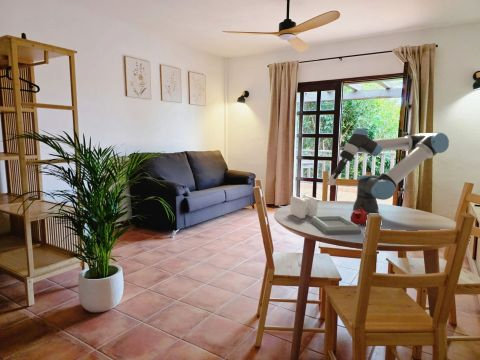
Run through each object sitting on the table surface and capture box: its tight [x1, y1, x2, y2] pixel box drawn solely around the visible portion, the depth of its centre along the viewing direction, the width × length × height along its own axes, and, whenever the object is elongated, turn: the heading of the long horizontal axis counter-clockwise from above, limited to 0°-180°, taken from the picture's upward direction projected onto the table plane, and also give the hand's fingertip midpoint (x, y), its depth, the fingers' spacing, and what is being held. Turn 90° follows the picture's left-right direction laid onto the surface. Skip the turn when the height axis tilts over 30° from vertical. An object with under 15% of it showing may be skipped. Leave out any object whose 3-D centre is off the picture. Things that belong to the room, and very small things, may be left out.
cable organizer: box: [289, 194, 318, 220], centre depth 180 cm, size 15×11×12 cm
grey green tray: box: [309, 215, 362, 235], centre depth 158 cm, size 18×22×4 cm
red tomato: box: [349, 207, 369, 226], centre depth 166 cm, size 10×10×9 cm
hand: (329, 184), depth 179 cm, fingers open, 13 cm apart
